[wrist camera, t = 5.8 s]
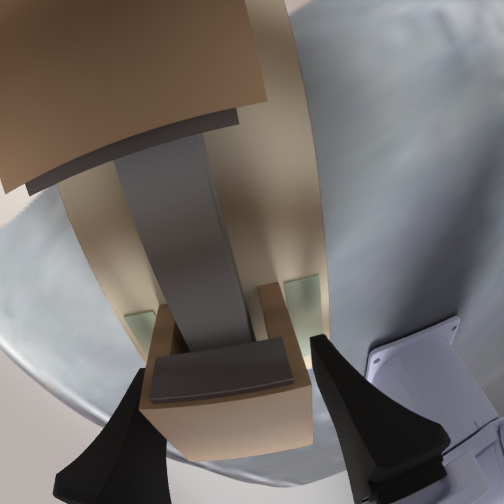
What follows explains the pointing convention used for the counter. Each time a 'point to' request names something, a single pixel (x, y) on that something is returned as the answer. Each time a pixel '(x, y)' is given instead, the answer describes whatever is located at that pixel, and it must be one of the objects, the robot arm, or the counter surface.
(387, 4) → the counter surface
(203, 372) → the forked wooden block
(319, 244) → the rail board
